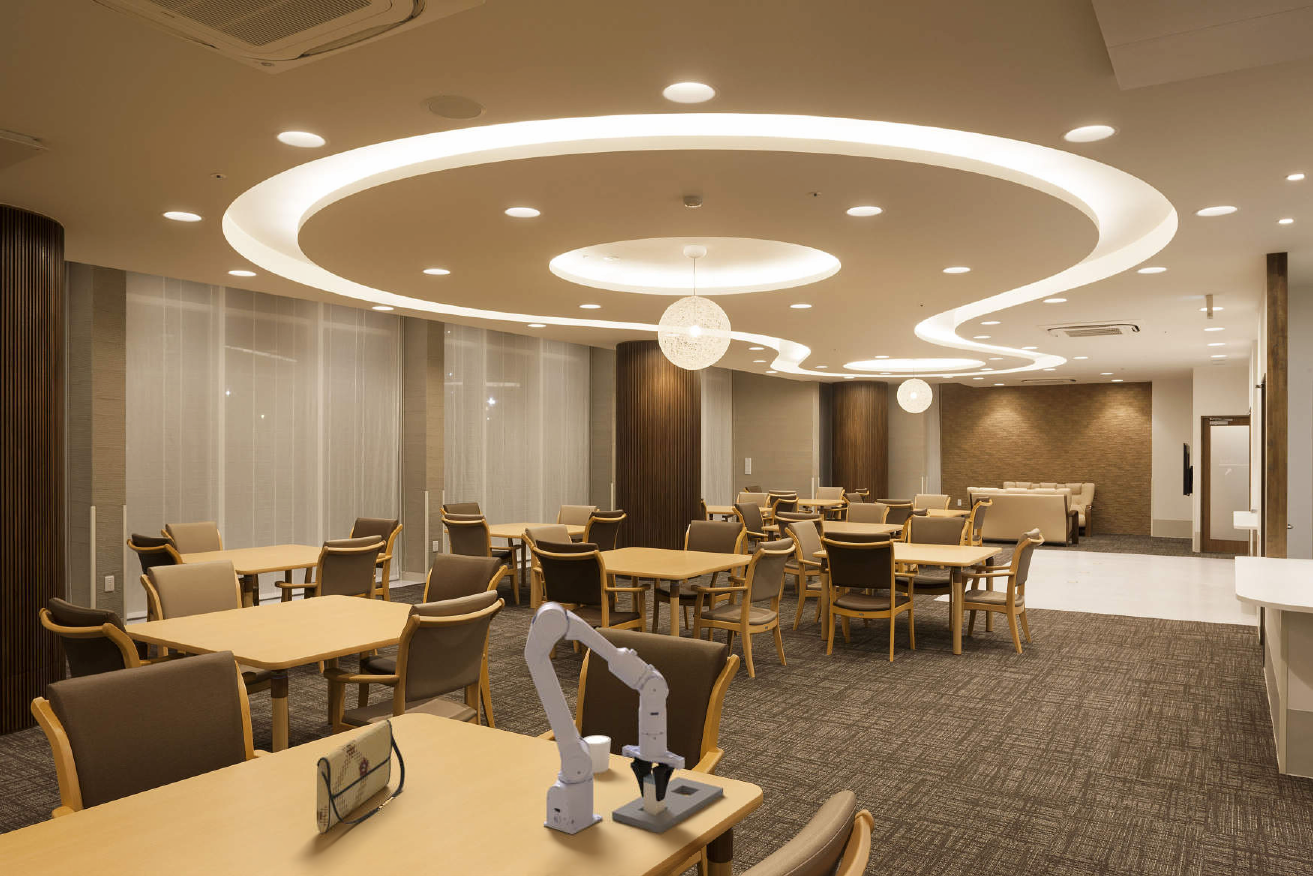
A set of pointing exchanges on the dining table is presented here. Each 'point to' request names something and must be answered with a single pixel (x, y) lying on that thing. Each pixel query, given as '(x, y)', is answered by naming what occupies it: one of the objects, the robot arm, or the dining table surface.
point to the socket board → (669, 805)
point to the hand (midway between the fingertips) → (653, 797)
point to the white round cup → (599, 752)
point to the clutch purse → (355, 775)
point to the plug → (651, 797)
